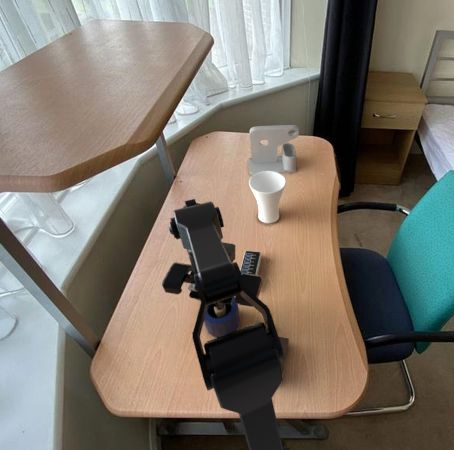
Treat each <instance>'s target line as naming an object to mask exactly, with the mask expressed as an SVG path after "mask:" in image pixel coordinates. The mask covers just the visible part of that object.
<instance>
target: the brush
mask: <svg viewBox="0 0 454 450" xmlns="http://www.w3.org/2000/svg"><path fill="white" fill-rule="evenodd" d="M215 305H216V307H214V310H215V314H216V317H217V319H218V318H223V317H225V316H227V311H226V307H225V305H224V308H223V309H221V308H220V307H219V305H218V304H217V302H216V303H215Z"/></svg>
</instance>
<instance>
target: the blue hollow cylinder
mask: <svg viewBox="0 0 454 450" xmlns="http://www.w3.org/2000/svg"><path fill="white" fill-rule="evenodd" d="M225 307H226V311H227V316H225V317H223V318H218V319H217V317H216V314H215V310H214V307H212V306H210V305H208V304H207V311H206V315H205V319H204V323H203V325H204V326H205V329H206V331H207V333H208V334H209V335H210V336H211V337H214V338H218V337H221V336H223V335H226V334H228V333H231V332H234V331H236V330H239V327H240V325H241V313H240V309H239V304H238V303H236V302H235V296H234V297H233V300H232V303H231V304H225Z"/></svg>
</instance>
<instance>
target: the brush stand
mask: <svg viewBox="0 0 454 450" xmlns="http://www.w3.org/2000/svg"><path fill="white" fill-rule="evenodd" d="M279 339H280V342H281V345H282V348H283V353H284V358H283V359H281V360H280V363H281V370H282V378H283V377H284V371H285V367H286V361H287V357H288V352H289V346H290V345H289V343H290V338H289V337H284V336H279Z"/></svg>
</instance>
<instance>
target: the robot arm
mask: <svg viewBox="0 0 454 450" xmlns="http://www.w3.org/2000/svg"><path fill="white" fill-rule="evenodd" d="M184 204H185V205H184V206H183V207H181V208H177V209H173V211H172V212H173V216H174V217H170V221H169V225H168V230H169V233H170V235H173V237H174V239H176V240H180V241H181V244H182V247H183V249H185V250H186V253H187V255H188V259H189V262H190V264H189V263H184V262H177V261H176V262H174V263H172V264H171V266H170V267H169V269H168V270H167V272H166V273H165V276H164V277H163V279H162V282H161V286H162V288H163V291H164V292H165V293H166V294H172V295H180V294H181V293H182V292H183V289H182V287H183V286H184V283H186V284H189V285H188V287H187V290H188V291H189V294H188V297H189V298H190V299H193V300H196V301H199V302H200V305H199V309H198V312H197V315H196V319H195V323H194V327H193V331H192V342H193V345H194V349H195V352H196V356H197V360H198V364H199V368H200V371H201V376H202V379H203V382H204V385H205V388H206V390H207V391H211V390H212V389H213V391H214V393H215V396H216V398H217V401H218V404H219V407H220V408H221V409H222V410H223V409H224V410H225V411H229V412H233V413H236V414H238V416H239V420H240V422H241V423H240V424H241V426H242V430H243V433H244V436H245V439H246V443H247V446H248V450H291V448H290V447H288V445H287V442H286V440H285V439H284V438H283V437H281V433H280V430H279V424H278V421H277V415H276V411H275V406H274V401H273V397H274V395H275V394H276V392H277V391H278V389H279V387H280V386H281V384H282V383H283V377H282V370H281V363H280V360H281V359H283V358H284V353H283V348H282V345H281V342H280V339H279V337H280V335H279V334H278V330H277V328H276V325H275V322H274V319H273V316H272V313H271V309H270V308H269V306H268V305H267V304H265V303H264V301H262V300H261V299H260V298H259V297H260V294H261V292H262V291H261V289H262V287H263V282H264V281H263V278H262V276H261V274H260V275H259V274H258V275H253V274H247V273H243V274H242V275H241V272H240V266H239V264H238V263H237V262H238V261H235V260H236V244H234V243H230V242H223V241H222V240H223V238H224V235H223V231H222V228H224V227H225V224H224V219H223V215H222V212H221V209H220V207H219V206H215V204H214V202H212V201H206V202H202V203H199V202H197V201H196V199H195V198H192V199H188V200H184ZM233 297H235V302H236V303H238V306H245V307H250V308H251V307H252V308H254V309H255V310H257V312H258V313H260V314H261V316H262V320H263V321H258V322H255V323H252V324H250V325H247V326H245V327H241V328H238V329H237V330H236V331H234V332H231V333H228V334H226V335H223V336H221V337H218V338H217V337H214V338H212V339H210V340H208V341H206V342H205V343H204V344H202V340H201V334H202V331H203V327H204V319H205V315H206V311H207V304H208V305H210V306H212V307H216V305H215V303H216V302H217V304H218V305H219V307H220V308H221V309H223V308H224V305H225V304H231V303H232V300H233Z"/></svg>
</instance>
